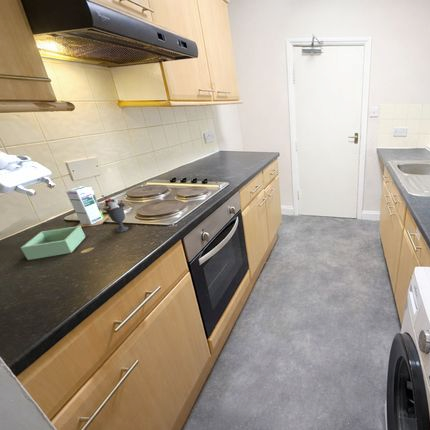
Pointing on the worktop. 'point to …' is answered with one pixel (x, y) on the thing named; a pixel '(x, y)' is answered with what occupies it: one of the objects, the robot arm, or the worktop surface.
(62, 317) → the worktop surface
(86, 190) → the syrup box
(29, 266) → the worktop surface
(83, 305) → the worktop surface
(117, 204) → the sundae
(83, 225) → the wooden mat
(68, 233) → the green square tray
